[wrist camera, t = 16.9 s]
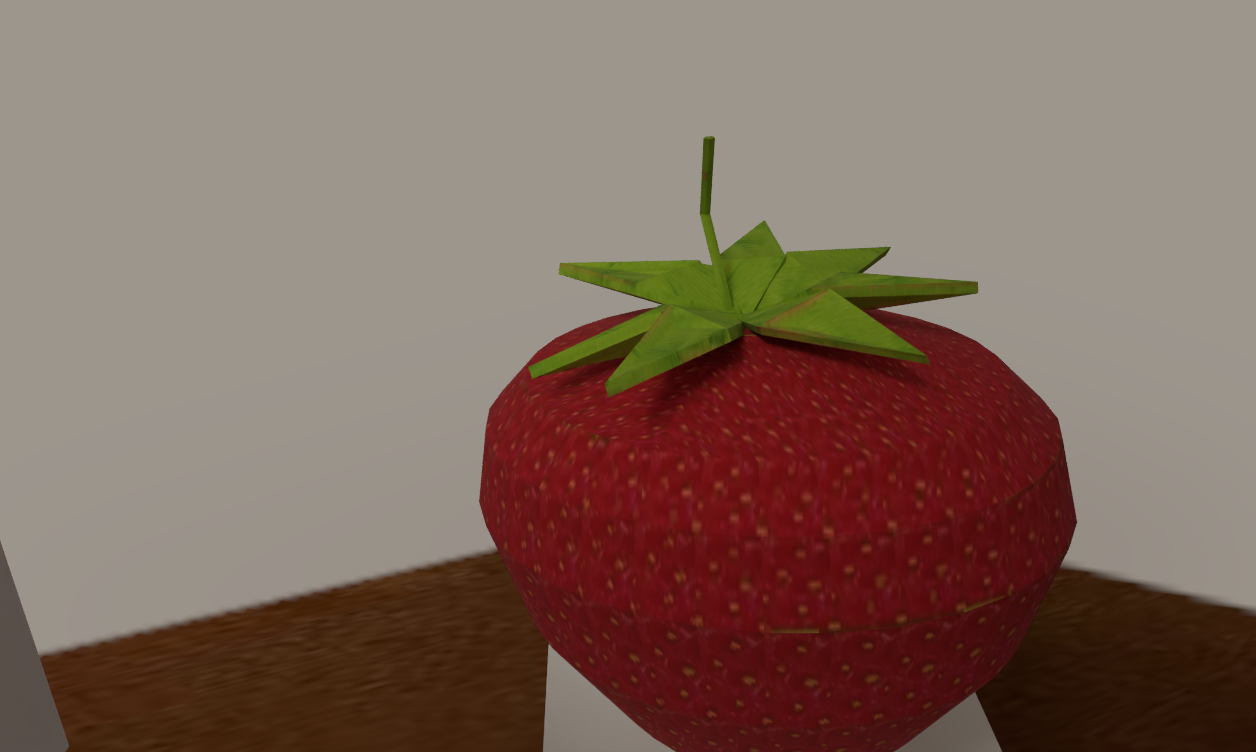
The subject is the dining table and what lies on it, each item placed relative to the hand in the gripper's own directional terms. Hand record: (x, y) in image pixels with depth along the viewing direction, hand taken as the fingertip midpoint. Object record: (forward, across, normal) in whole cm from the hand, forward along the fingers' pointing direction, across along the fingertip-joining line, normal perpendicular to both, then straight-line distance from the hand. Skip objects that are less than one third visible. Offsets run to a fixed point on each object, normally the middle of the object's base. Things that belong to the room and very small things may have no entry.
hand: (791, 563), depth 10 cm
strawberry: (+5, 0, -8) cm, 9 cm away
